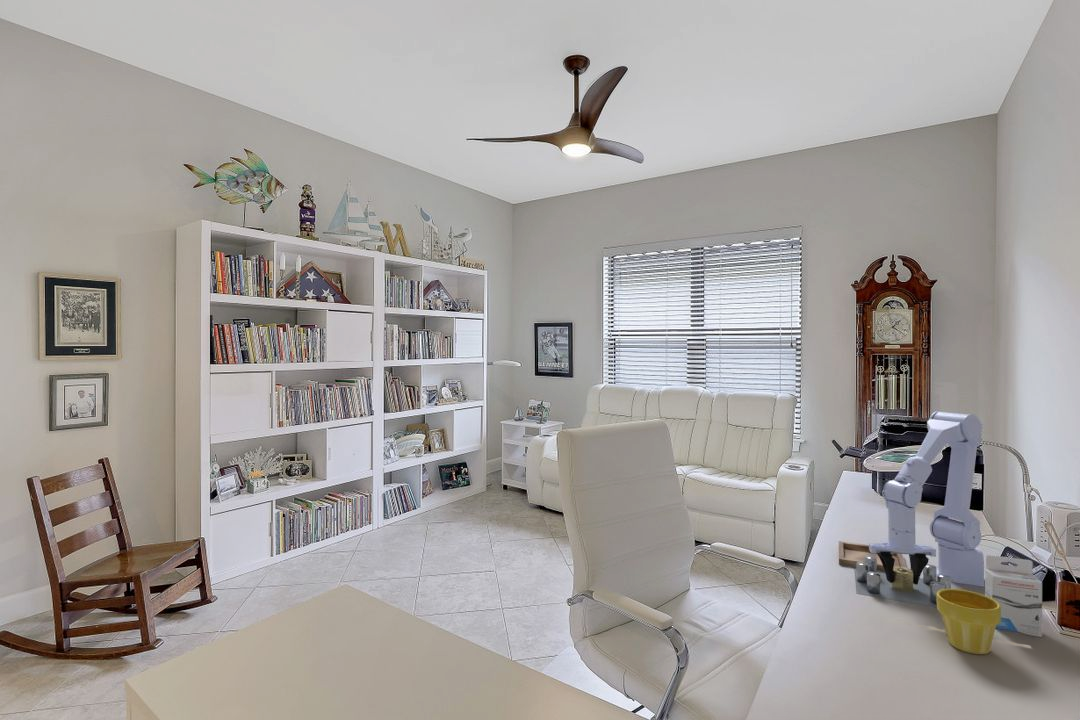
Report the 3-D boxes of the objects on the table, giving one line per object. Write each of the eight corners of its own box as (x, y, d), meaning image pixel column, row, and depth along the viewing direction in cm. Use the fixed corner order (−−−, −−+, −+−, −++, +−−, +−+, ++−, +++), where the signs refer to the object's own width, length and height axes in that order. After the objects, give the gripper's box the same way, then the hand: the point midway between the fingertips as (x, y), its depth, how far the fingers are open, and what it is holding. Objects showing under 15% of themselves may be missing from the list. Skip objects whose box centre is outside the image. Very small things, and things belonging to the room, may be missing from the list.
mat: (945, 583, 140) (945, 582, 140) (960, 613, 124) (960, 611, 124) (854, 569, 150) (854, 567, 150) (856, 595, 134) (856, 593, 134)
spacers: (945, 584, 139) (945, 566, 139) (957, 608, 126) (956, 589, 126) (855, 570, 148) (855, 553, 148) (857, 591, 135) (857, 573, 135)
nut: (911, 585, 138) (911, 567, 138) (913, 593, 134) (913, 575, 134) (890, 582, 140) (890, 564, 140) (892, 589, 136) (892, 571, 136)
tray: (900, 556, 159) (900, 549, 159) (907, 576, 145) (906, 568, 145) (838, 547, 166) (838, 541, 166) (838, 566, 152) (838, 558, 152)
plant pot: (938, 627, 118) (938, 583, 118) (1000, 643, 111) (1000, 596, 111) (935, 648, 110) (934, 600, 110) (1001, 666, 103) (1001, 615, 103)
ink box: (992, 629, 117) (991, 562, 117) (984, 619, 121) (984, 554, 121) (1043, 638, 113) (1042, 568, 113) (1033, 627, 118) (1033, 559, 118)
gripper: (925, 525, 139) (926, 577, 139) (864, 522, 142) (864, 573, 142) (940, 534, 132) (940, 589, 132) (875, 531, 135) (875, 585, 135)
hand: (902, 582), depth 137 cm, fingers closed on nut, 5 cm apart
